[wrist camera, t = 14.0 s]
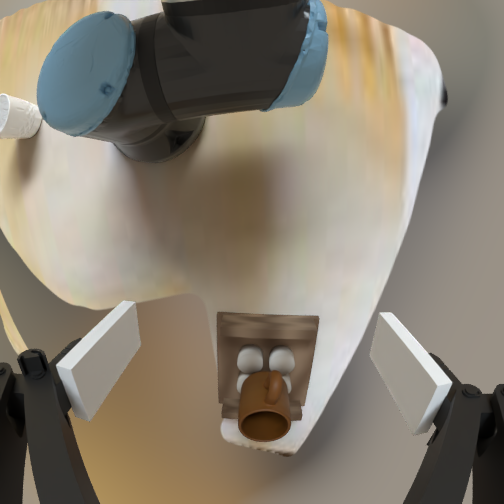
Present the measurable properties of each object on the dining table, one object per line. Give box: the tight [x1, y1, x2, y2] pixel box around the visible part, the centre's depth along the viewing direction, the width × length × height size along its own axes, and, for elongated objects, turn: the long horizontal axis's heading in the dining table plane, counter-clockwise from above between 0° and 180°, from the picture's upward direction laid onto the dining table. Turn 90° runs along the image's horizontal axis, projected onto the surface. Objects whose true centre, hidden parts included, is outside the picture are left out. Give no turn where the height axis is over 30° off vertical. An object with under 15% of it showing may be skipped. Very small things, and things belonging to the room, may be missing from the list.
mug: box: [238, 370, 291, 442], centre depth 39 cm, size 12×8×9 cm, turn 169°
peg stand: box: [217, 312, 319, 421], centre depth 45 cm, size 16×19×5 cm
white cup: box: [0, 94, 42, 139], centre depth 34 cm, size 8×8×10 cm
